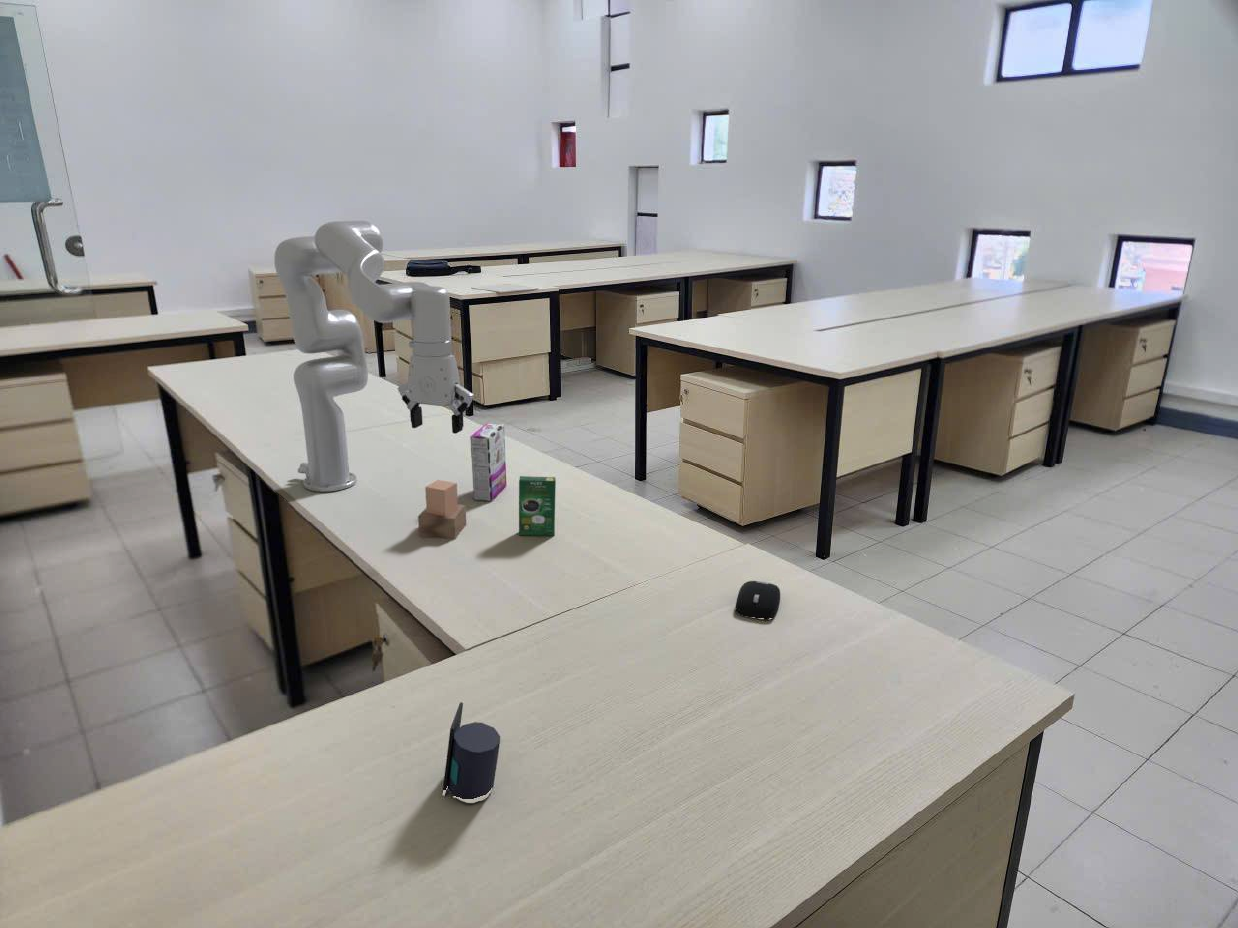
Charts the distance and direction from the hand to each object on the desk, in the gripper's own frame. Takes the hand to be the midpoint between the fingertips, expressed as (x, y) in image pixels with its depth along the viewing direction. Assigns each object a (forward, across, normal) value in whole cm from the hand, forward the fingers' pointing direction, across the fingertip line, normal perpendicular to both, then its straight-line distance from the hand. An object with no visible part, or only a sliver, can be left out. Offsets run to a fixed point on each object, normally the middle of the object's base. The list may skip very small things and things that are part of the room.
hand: (437, 429), depth 172 cm
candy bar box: (+24, -1, +24) cm, 34 cm away
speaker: (+23, +45, -69) cm, 86 cm away
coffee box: (+23, +20, +6) cm, 31 cm away
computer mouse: (+24, +71, -8) cm, 75 cm away
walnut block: (+24, 0, 0) cm, 24 cm away
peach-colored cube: (+18, 0, 0) cm, 19 cm away
